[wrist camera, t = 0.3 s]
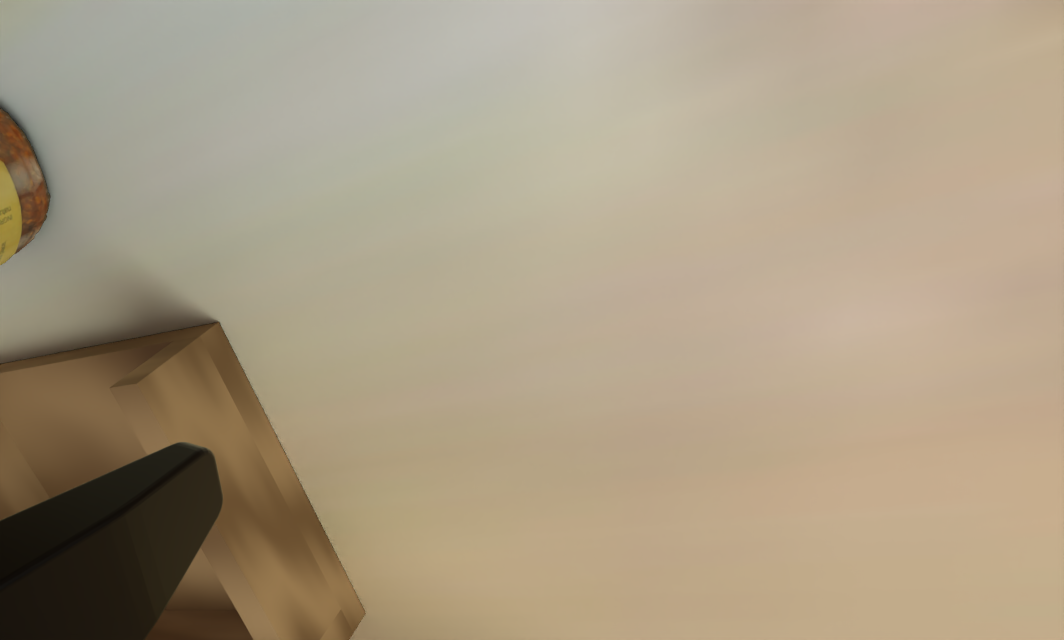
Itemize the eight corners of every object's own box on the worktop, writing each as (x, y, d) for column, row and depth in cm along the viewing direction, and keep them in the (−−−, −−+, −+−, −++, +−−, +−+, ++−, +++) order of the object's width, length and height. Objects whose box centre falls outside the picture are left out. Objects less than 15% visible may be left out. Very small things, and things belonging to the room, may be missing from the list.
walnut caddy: (365, 613, 34) (312, 696, 31) (131, 614, 40) (64, 685, 36) (218, 322, 30) (136, 383, 26) (-25, 368, 35) (-118, 424, 32)
